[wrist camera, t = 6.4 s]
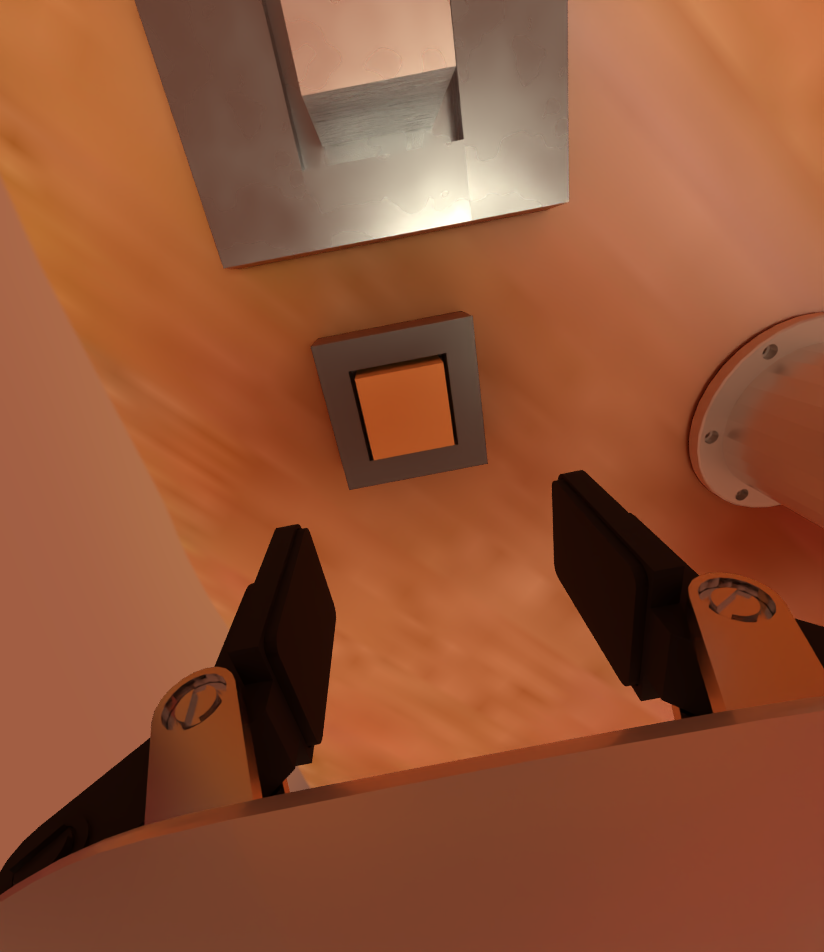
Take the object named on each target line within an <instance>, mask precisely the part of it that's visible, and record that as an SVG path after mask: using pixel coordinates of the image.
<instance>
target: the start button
mask: <svg viewBox="0 0 824 952" xmlns="http://www.w3.org/2000/svg"><path fill="white" fill-rule="evenodd" d="M355 382H356V386H357V390H358V395H359V399H360V403H361V408H362V412H363V416H364V420H365V425H366V429H367V433H368V438H369V442H370V446H371V450H372V455H373V459H374V460H378V459H383V458H389V457H394V456H399V455H404V454H410V453H415V452H420V451H425V450H431V449H436V448H441V447H446V446H452V445H455V444H454V437H453V430H452V423H451V415H450V408H449V401H448V393H447V386H446V379H445V372H444V364H443V362H442V360H441V359H440V358H439V356H438V355H433V356H428V357H422V358H417V359H412V360H407V361H401V362H396V363H391V364H386V365H381V366H375V367H370V368H365V369H360V370H357V372H356V377H355Z"/></svg>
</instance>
